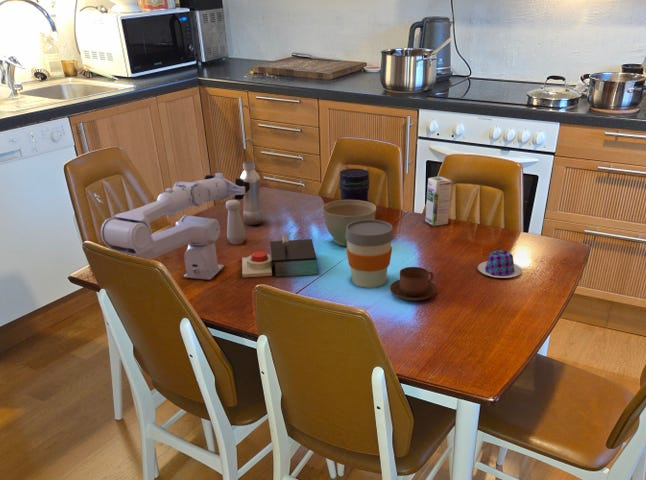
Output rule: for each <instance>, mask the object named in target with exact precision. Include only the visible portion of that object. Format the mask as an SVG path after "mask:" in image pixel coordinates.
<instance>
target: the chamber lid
mask: <svg viewBox="0 0 646 480" xmlns="http://www.w3.org/2000/svg"><path fill="white" fill-rule="evenodd" d="M269 248H270V255H271V259H272V262H273V263H274V262H287V261H303V260H317V261H318V259H317V254H316V250H315V246H314V242H313V239H312V238H306V239H290V240H289V236H288V235H287V234H283V235H282V237H281V240H272V241H271V240H270V241H269Z"/></svg>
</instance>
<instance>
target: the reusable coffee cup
mask: <svg viewBox="0 0 646 480" xmlns="http://www.w3.org/2000/svg"><path fill="white" fill-rule="evenodd" d="M345 239H346V240H347V246H345V247H346V249H345V250H346V256H347V263H348V266H349V267H350V272H351V278H352V279H351V280H352V281H351V282H352V283H353V285H355V286H358V287H361V288H368V289H369V288H370V289H371V288H378V287H381V286H383V285H384V284H385V283H386V280H387V274H388V267H389V266H390V264H391V259H392V252H393V247H392V242H393V240H394V230H393V225H392V224H391V223H390V222H388V221H384V220H381V219H375V220H358V221H354V222H351V223H349V224H348V225H347V226H346V235H345Z"/></svg>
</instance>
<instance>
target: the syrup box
mask: <svg viewBox="0 0 646 480" xmlns="http://www.w3.org/2000/svg"><path fill="white" fill-rule="evenodd" d="M451 192H452V180H451V179H449V178H446V177H444V176H433V177H429V178H427V190H426V204H425V205H426V206H425V219H424V220H425V222H426V223H428V225H429V224H430V225H431V226H432V227H439V226H443V225H444V226H445V225H448V224H449V217H450V216H449V215H450V205H451Z"/></svg>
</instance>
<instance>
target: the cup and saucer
mask: <svg viewBox="0 0 646 480" xmlns="http://www.w3.org/2000/svg"><path fill="white" fill-rule="evenodd" d="M429 275H430V277H429ZM434 277H435V276H434V272H432V271H428V269H425V268H423V267H419V266H406V267H404V268H401V270H399V279H398V280H395V281H393V282H392V283H391V284H390V286H389V289H390V292H391V294H393V296H395V297H397V298H399V299H401V300H405V301H413V302H417V301H425V300H427V299H430V298H432V297H433V296H435V295H436V293H437V292H438V286H437V285H436V284H435V283H433V282H432V281H433V280H434Z"/></svg>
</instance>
